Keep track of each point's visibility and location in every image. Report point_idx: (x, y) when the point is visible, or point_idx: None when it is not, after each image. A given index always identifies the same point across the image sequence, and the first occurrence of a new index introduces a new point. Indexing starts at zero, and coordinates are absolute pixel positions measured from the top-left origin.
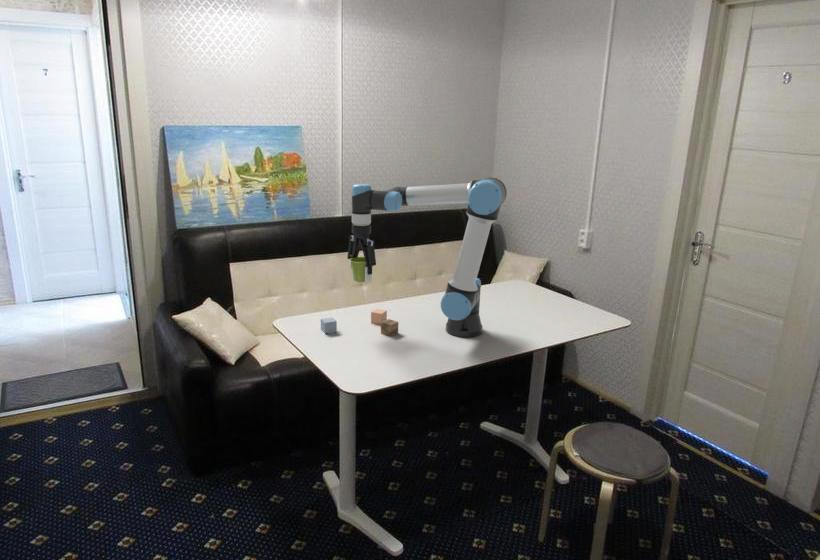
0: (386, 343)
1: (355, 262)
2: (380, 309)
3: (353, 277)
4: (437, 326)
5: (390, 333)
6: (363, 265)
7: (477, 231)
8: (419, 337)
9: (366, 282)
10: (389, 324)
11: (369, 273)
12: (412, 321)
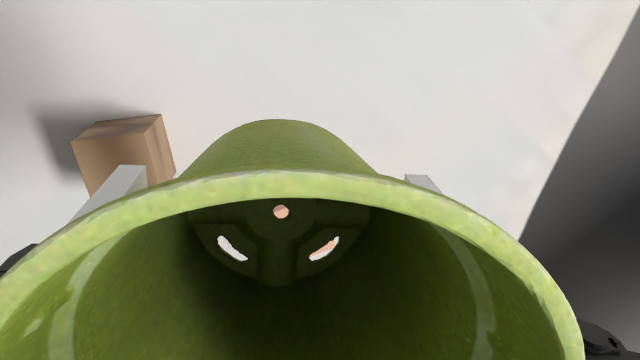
0: (16, 39)
1: (132, 197)
2: (312, 255)
3: None
4: None
5: (90, 127)
6: (42, 306)
7: None
8: (10, 214)
9: (120, 170)
10: (80, 143)
11: (10, 259)
12: None
